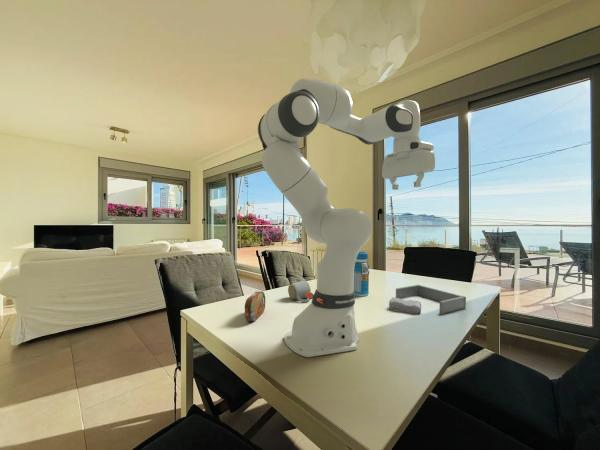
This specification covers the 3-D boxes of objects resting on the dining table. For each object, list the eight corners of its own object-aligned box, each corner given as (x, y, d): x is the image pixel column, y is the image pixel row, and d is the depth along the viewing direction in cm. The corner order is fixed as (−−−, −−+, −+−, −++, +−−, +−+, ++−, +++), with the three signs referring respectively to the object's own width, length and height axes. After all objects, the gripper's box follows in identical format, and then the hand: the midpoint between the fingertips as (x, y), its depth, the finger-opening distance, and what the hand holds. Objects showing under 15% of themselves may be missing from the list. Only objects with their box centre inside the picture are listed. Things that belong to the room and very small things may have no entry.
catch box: (442, 314, 101) (442, 302, 100) (395, 298, 120) (395, 288, 120) (465, 307, 108) (465, 296, 108) (418, 293, 127) (418, 284, 127)
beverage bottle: (349, 295, 124) (350, 253, 124) (352, 290, 132) (352, 251, 132) (368, 297, 121) (368, 254, 121) (369, 292, 129) (370, 251, 129)
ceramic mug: (286, 297, 120) (287, 281, 120) (301, 295, 125) (302, 278, 124) (299, 304, 111) (299, 286, 111) (315, 301, 116) (315, 284, 115)
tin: (251, 325, 89) (251, 300, 89) (242, 324, 90) (242, 299, 89) (266, 310, 104) (266, 288, 104) (258, 309, 104) (258, 288, 104)
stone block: (391, 307, 113) (387, 309, 105) (392, 296, 114) (388, 297, 105) (421, 313, 108) (420, 316, 99) (422, 301, 109) (421, 303, 100)
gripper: (378, 154, 102) (377, 190, 102) (425, 140, 84) (425, 184, 84) (390, 156, 105) (389, 191, 105) (438, 143, 87) (437, 185, 87)
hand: (405, 188), depth 94 cm, fingers open, 8 cm apart
